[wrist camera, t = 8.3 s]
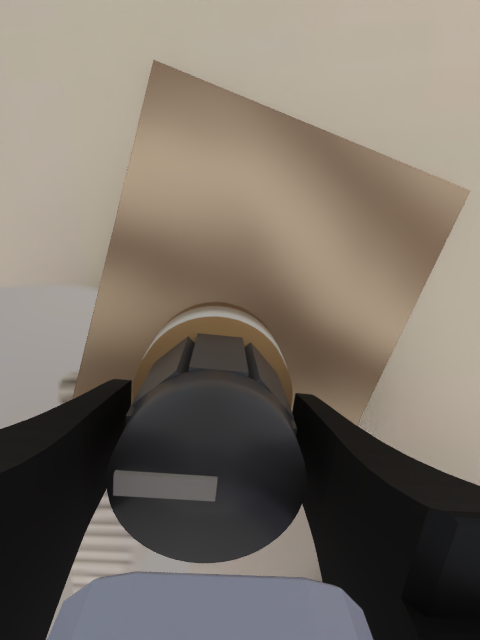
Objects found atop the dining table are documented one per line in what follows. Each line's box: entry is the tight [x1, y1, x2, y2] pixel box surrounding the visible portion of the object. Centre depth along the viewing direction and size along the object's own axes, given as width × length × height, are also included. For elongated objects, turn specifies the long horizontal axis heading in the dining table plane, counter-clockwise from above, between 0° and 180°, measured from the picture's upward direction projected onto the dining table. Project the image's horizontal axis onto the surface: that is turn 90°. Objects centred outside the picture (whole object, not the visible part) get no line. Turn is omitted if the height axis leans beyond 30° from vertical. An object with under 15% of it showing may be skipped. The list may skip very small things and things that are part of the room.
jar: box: [132, 302, 293, 408], centre depth 13 cm, size 6×6×5 cm
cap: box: [106, 333, 306, 563], centre depth 10 cm, size 5×5×5 cm
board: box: [73, 60, 470, 425], centre depth 15 cm, size 16×14×1 cm
